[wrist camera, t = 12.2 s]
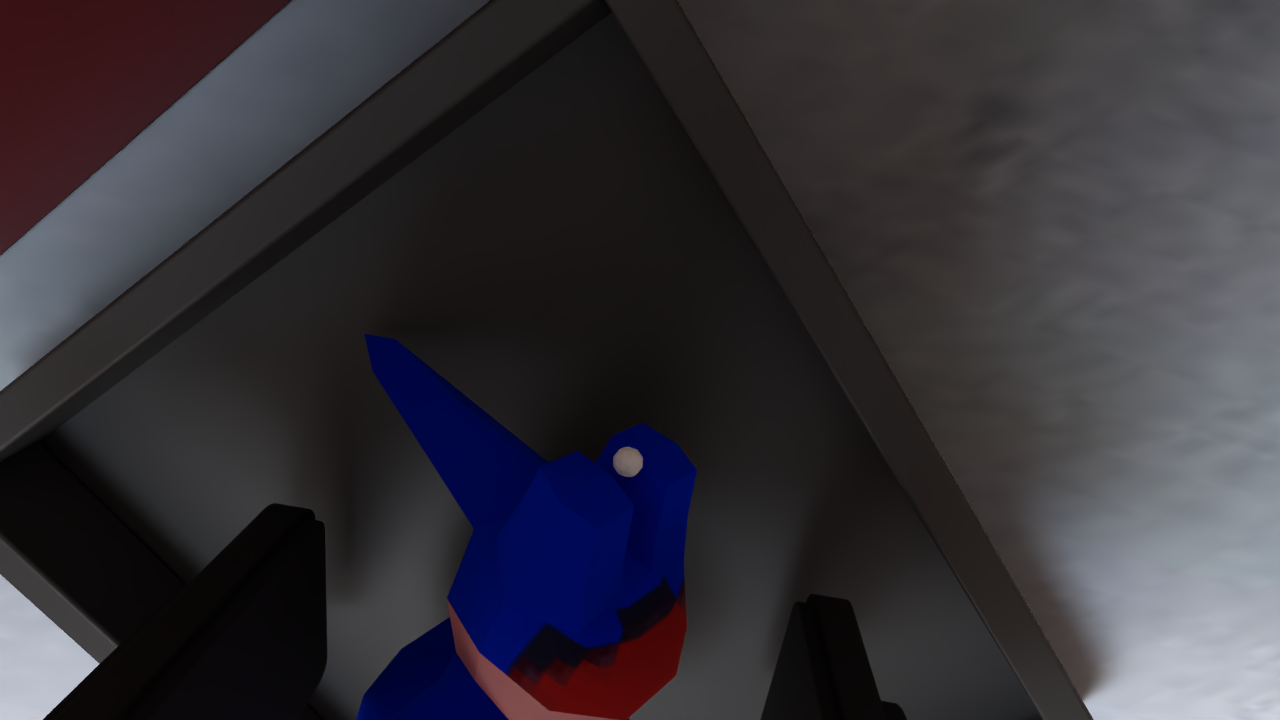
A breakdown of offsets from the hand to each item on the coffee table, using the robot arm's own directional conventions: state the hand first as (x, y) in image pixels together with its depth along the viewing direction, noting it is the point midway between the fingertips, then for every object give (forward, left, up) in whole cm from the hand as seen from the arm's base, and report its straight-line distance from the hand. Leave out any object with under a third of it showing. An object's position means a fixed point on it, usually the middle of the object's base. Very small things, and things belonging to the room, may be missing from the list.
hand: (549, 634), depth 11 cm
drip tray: (0, 0, -2) cm, 2 cm away
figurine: (-3, -3, +2) cm, 5 cm away
